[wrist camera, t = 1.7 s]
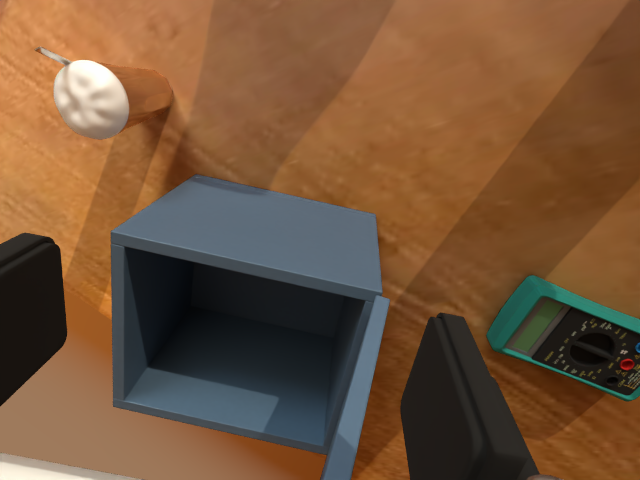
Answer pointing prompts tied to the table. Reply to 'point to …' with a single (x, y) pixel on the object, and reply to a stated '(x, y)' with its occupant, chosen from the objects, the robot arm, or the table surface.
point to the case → (242, 310)
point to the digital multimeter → (570, 337)
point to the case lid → (356, 398)
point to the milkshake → (107, 96)
